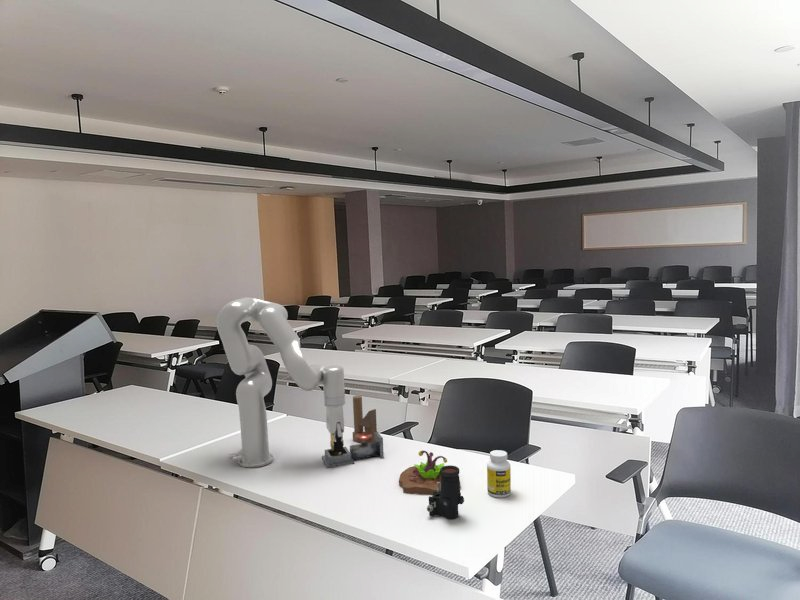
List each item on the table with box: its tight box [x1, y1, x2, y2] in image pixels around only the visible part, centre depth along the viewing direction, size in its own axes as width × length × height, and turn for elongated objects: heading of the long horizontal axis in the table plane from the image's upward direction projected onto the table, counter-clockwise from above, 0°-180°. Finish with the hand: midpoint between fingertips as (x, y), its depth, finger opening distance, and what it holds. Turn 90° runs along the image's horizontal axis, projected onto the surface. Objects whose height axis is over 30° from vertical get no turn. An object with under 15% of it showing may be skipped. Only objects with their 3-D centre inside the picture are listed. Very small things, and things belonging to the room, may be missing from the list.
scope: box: [426, 465, 465, 520], centre depth 164 cm, size 8×14×10 cm
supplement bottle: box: [486, 449, 512, 498], centre depth 176 cm, size 7×7×13 cm
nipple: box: [329, 431, 345, 456], centre depth 208 cm, size 5×5×8 cm
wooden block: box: [352, 395, 378, 444], centre depth 226 cm, size 4×11×18 cm, turn 46°
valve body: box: [321, 431, 385, 469], centre depth 210 cm, size 21×10×8 cm, turn 108°
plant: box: [398, 450, 448, 496], centre depth 187 cm, size 20×20×11 cm
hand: (337, 448), depth 208 cm, fingers closed on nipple, 4 cm apart
